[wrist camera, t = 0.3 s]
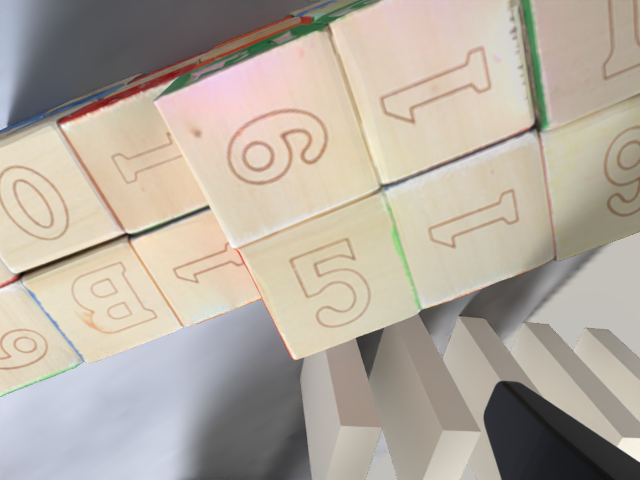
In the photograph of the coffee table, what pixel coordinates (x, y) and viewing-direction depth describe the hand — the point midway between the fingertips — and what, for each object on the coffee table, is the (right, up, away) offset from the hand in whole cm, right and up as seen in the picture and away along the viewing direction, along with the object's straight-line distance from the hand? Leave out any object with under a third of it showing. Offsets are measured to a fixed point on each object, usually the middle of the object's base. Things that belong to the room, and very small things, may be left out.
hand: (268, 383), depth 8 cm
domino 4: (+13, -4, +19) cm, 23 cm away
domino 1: (+1, -3, +17) cm, 17 cm away
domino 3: (+9, -4, +18) cm, 21 cm away
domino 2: (+5, -3, +17) cm, 18 cm away
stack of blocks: (-1, +8, +11) cm, 14 cm away
